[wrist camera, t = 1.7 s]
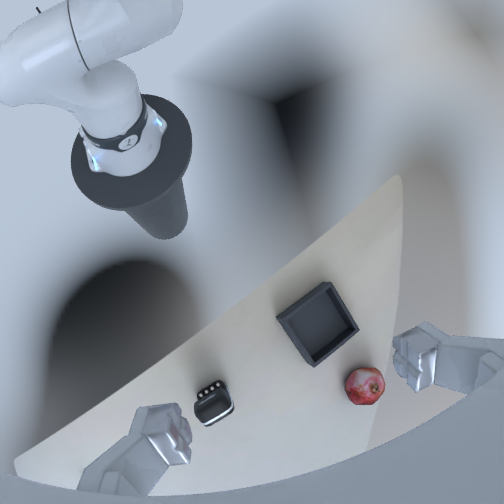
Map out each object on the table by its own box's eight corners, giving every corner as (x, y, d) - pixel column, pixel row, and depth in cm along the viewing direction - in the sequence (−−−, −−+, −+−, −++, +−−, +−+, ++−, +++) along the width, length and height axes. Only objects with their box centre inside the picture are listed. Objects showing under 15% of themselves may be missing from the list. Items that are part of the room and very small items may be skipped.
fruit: (366, 400, 60) (388, 414, 50) (334, 396, 59) (354, 412, 49) (378, 366, 61) (402, 376, 51) (347, 360, 60) (370, 372, 50)
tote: (275, 316, 58) (281, 319, 54) (323, 281, 61) (331, 281, 57) (306, 362, 58) (313, 367, 54) (350, 327, 61) (359, 330, 57)
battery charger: (219, 374, 55) (224, 395, 44) (230, 388, 55) (237, 411, 44) (191, 391, 54) (190, 415, 42) (202, 405, 54) (204, 430, 42)
